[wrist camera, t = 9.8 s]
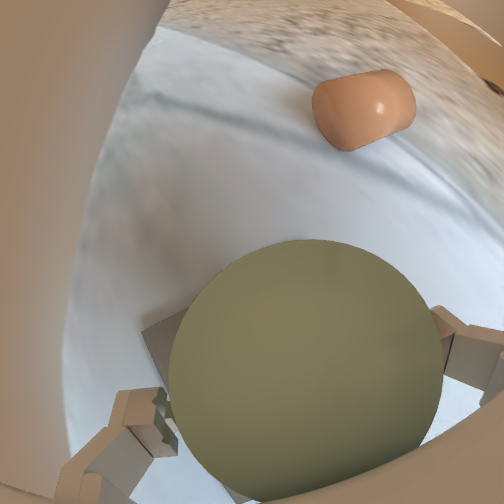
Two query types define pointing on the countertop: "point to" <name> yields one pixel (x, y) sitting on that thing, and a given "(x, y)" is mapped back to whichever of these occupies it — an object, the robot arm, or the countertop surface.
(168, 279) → the countertop surface
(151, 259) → the countertop surface
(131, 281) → the countertop surface
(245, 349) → the pale green rounded cylinder
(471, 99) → the countertop surface
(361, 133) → the tan rounded cylinder
